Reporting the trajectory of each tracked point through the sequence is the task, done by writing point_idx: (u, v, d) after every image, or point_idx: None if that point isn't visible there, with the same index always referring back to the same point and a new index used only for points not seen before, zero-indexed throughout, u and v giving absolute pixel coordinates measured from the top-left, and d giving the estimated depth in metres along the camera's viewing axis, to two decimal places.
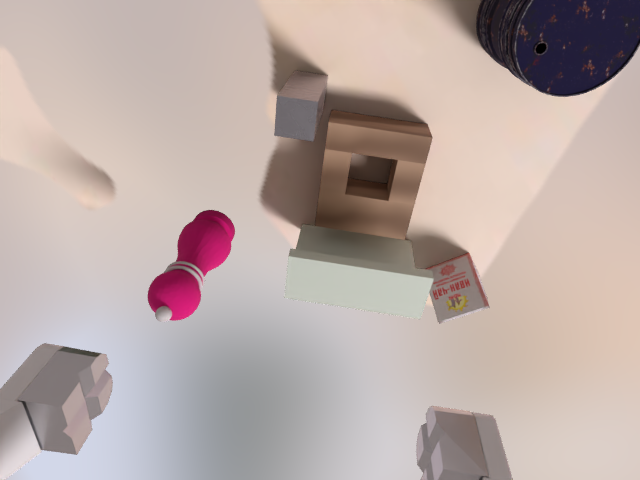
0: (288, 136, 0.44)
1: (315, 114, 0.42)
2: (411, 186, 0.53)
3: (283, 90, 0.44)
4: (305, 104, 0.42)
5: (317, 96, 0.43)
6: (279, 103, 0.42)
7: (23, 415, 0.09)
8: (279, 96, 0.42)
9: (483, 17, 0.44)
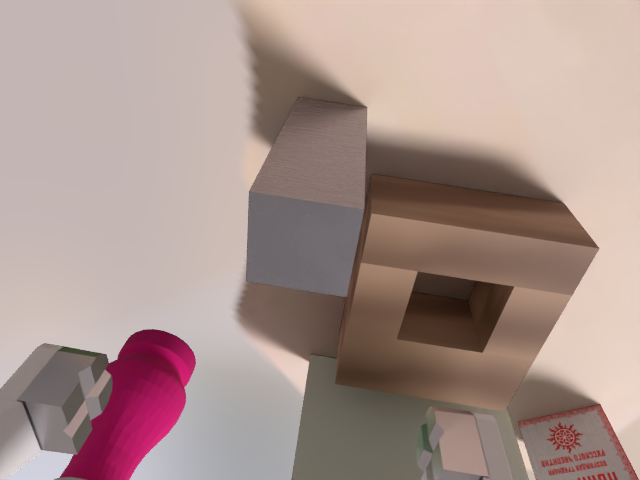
0: (282, 284, 0.17)
1: (355, 239, 0.16)
2: (533, 331, 0.26)
3: (269, 167, 0.17)
4: (328, 215, 0.15)
5: (358, 184, 0.16)
6: (256, 210, 0.15)
7: (23, 415, 0.09)
8: (255, 193, 0.15)
9: None
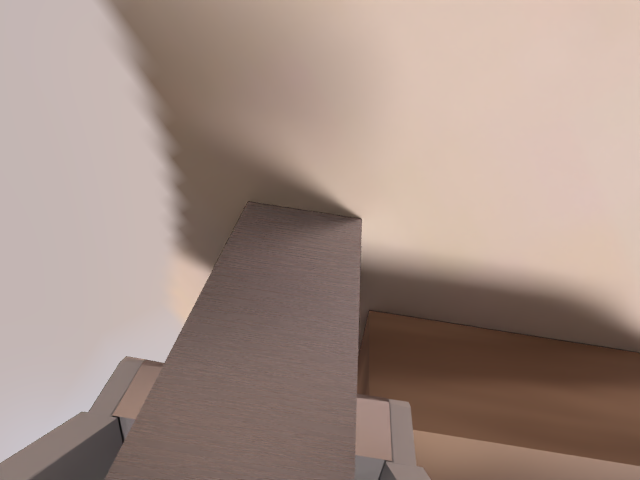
0: None
1: None
2: None
3: None
4: None
5: None
6: None
7: (117, 430, 0.09)
8: None
9: None
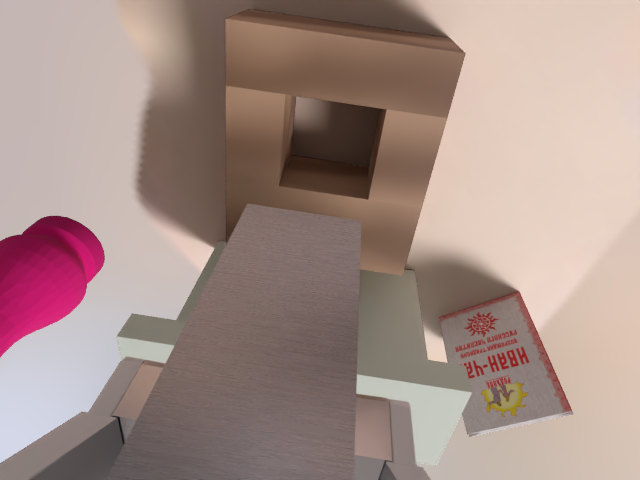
0: None
1: None
2: (415, 168, 0.25)
3: None
4: None
5: None
6: None
7: (117, 430, 0.09)
8: None
9: None
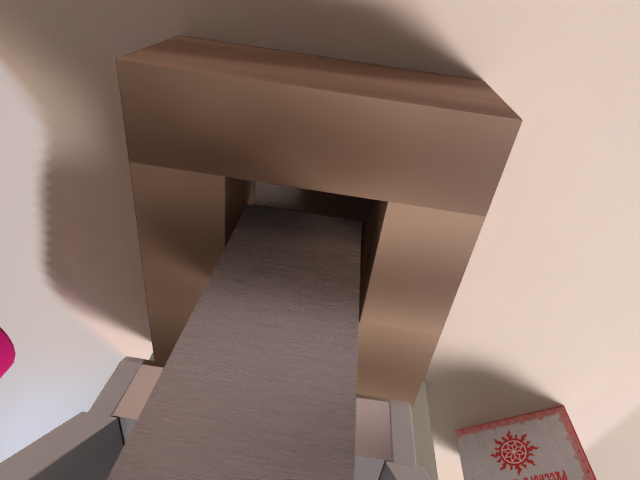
0: None
1: None
2: (432, 283, 0.16)
3: None
4: None
5: None
6: None
7: (117, 430, 0.09)
8: None
9: None
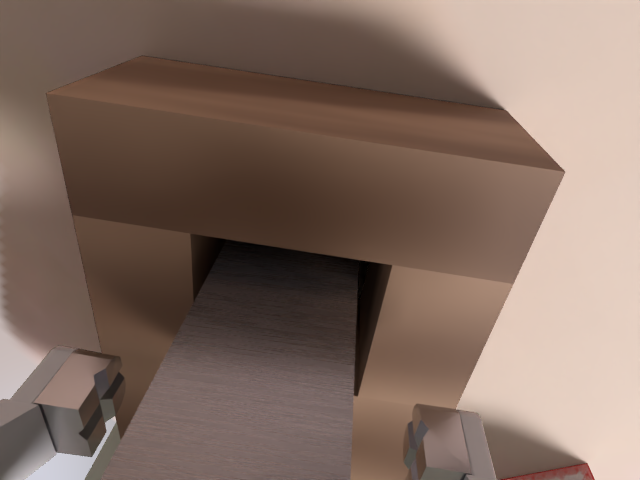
0: None
1: None
2: (446, 357, 0.13)
3: (151, 410, 0.08)
4: None
5: (337, 454, 0.08)
6: None
7: (39, 418, 0.09)
8: None
9: None
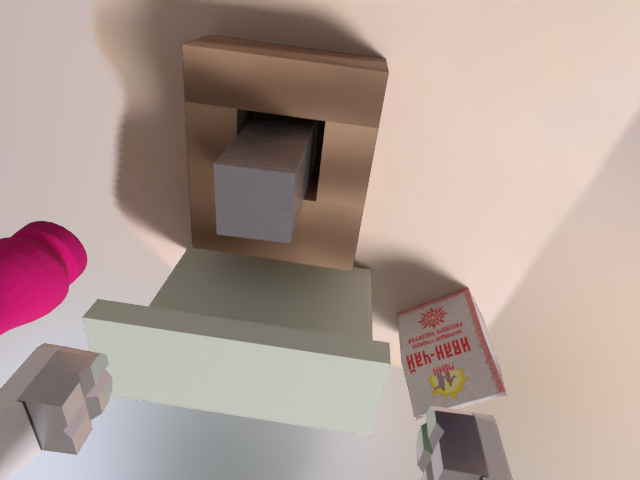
0: (243, 235, 0.23)
1: (291, 196, 0.22)
2: (355, 172, 0.28)
3: (230, 149, 0.23)
4: (270, 179, 0.21)
5: (295, 159, 0.23)
6: (219, 178, 0.21)
7: (23, 415, 0.09)
8: (218, 165, 0.21)
9: None
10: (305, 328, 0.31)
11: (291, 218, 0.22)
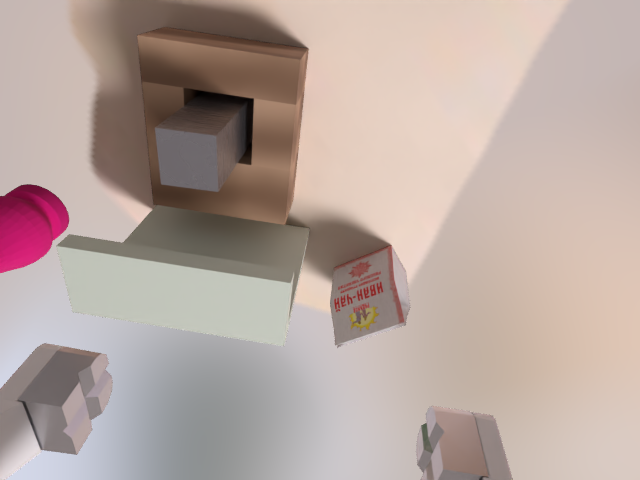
0: (181, 185, 0.30)
1: (215, 154, 0.28)
2: (280, 141, 0.35)
3: (171, 118, 0.30)
4: (198, 140, 0.28)
5: (220, 126, 0.29)
6: (160, 139, 0.28)
7: (23, 415, 0.09)
8: (158, 129, 0.28)
9: None
10: None
11: (216, 171, 0.29)
